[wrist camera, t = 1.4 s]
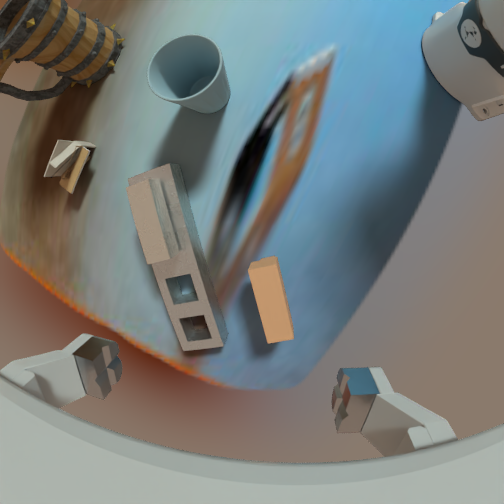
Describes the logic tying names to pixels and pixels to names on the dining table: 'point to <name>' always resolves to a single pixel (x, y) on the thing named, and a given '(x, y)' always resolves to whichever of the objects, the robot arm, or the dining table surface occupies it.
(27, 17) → the mug
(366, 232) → the dining table surface
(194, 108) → the cup
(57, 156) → the architectural model
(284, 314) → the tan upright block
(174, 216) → the rail
